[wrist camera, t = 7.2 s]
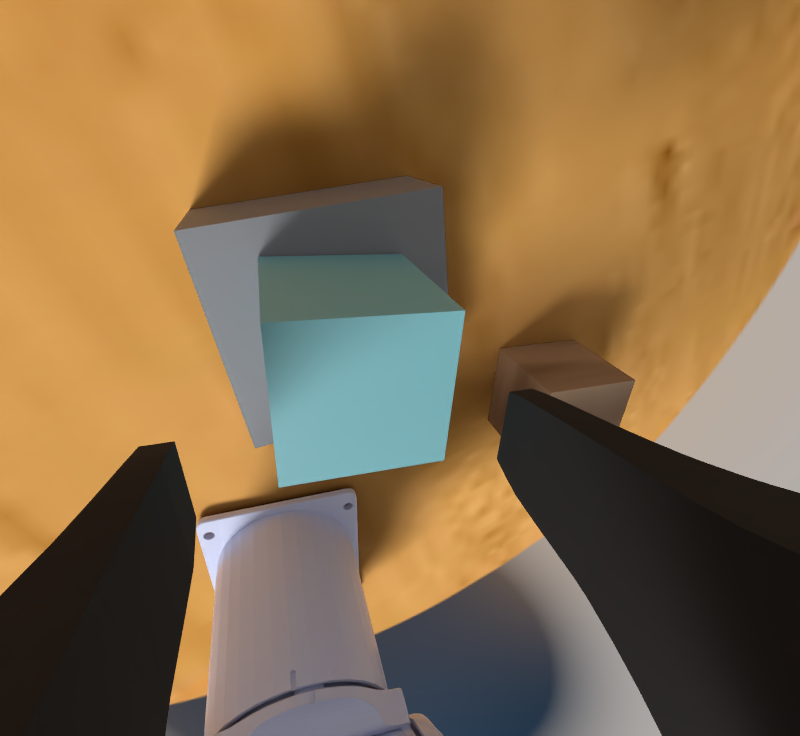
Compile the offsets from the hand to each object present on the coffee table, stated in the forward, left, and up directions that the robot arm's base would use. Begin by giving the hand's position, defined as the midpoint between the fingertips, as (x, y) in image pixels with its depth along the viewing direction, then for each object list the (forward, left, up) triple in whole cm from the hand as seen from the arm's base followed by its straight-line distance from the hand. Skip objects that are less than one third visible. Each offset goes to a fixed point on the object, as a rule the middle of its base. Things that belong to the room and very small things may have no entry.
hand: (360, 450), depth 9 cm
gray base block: (0, -1, -10) cm, 10 cm away
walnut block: (-6, -12, -10) cm, 16 cm away
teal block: (+1, -1, -6) cm, 6 cm away
